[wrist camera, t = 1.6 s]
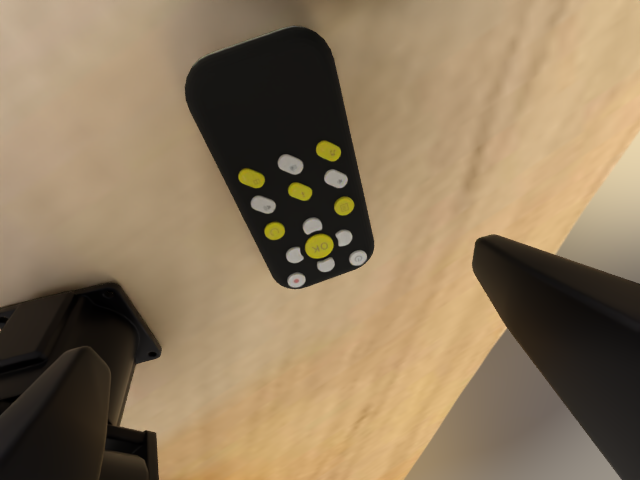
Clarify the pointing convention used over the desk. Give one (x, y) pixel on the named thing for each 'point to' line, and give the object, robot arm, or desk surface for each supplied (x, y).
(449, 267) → the desk surface
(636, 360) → the robot arm
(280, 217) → the remote control
